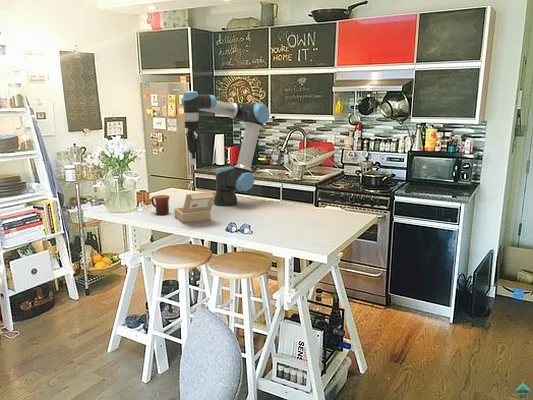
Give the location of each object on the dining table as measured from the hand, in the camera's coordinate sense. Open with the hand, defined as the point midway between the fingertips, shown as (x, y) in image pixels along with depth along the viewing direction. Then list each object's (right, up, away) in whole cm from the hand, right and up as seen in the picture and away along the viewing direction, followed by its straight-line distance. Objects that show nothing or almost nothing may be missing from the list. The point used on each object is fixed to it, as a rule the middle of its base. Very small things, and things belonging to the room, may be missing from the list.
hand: (193, 164), depth 245 cm
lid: (+4, -21, -8) cm, 22 cm away
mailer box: (-1, -30, +4) cm, 30 cm away
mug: (-21, -27, +13) cm, 37 cm away
